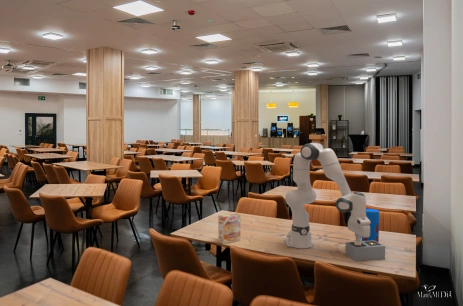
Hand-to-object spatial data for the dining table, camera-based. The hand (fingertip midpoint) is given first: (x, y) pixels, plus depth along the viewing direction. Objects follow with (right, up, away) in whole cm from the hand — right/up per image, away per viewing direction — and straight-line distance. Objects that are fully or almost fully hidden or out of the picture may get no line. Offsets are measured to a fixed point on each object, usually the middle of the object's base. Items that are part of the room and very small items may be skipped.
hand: (358, 240), depth 230 cm
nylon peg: (0, -8, +1) cm, 8 cm away
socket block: (+5, -11, +2) cm, 12 cm away
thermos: (+15, -9, +21) cm, 28 cm away
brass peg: (+10, -10, +3) cm, 14 cm away
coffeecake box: (-80, -9, +33) cm, 87 cm away
